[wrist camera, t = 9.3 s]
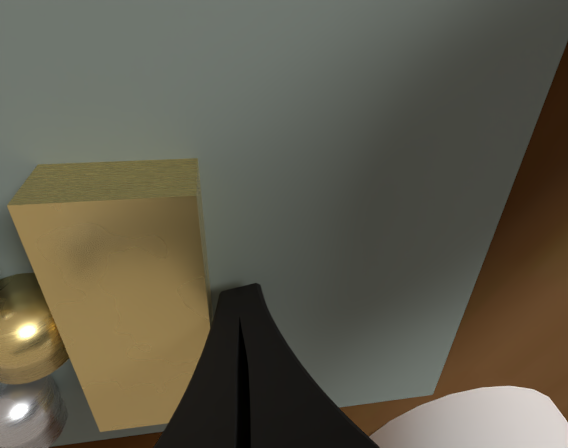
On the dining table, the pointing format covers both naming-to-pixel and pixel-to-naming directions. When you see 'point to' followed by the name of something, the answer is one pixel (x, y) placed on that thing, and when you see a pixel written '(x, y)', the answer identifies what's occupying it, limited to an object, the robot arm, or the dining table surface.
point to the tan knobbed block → (110, 285)
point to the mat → (297, 155)
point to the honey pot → (479, 422)
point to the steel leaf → (31, 414)
